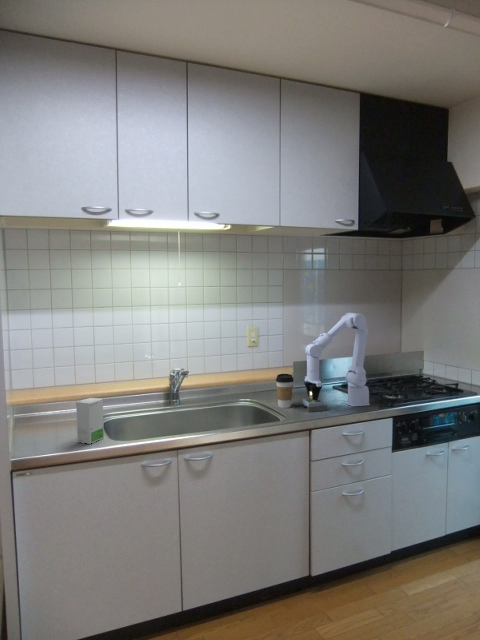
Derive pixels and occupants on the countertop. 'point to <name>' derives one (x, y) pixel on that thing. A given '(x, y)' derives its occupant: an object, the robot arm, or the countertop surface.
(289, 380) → the coffee cup
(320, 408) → the stop
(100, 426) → the skincare box
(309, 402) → the brass cylinder
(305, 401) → the grey square tray
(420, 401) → the countertop surface
